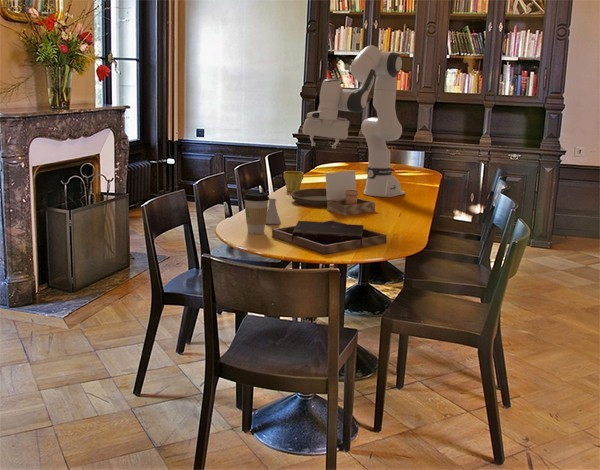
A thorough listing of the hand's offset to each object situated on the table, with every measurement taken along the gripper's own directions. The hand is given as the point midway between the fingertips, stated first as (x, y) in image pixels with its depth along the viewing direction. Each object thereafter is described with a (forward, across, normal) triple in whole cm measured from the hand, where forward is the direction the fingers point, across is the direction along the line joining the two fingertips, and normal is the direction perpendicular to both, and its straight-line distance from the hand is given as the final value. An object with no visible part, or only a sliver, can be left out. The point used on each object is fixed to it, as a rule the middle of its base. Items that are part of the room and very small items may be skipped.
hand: (323, 147), depth 296 cm
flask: (+32, +23, +25) cm, 47 cm away
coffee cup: (+34, +32, +40) cm, 62 cm away
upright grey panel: (+16, -11, -1) cm, 19 cm away
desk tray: (+32, +6, +54) cm, 63 cm away
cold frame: (+27, -15, +3) cm, 31 cm away
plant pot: (+26, +1, -50) cm, 57 cm away
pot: (+27, -15, +4) cm, 31 cm away
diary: (+32, +6, +54) cm, 64 cm away
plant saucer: (+27, -8, -19) cm, 34 cm away
